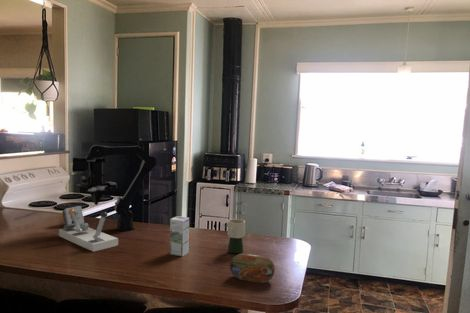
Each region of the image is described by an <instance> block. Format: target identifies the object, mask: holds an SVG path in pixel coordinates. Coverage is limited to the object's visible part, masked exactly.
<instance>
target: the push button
mask: <svg viewBox="0 0 470 313" xmlns="http://www.w3.org/2000/svg"><path fill="white" fill-rule="evenodd" d="M80 227H81V229H82V230H84V229H88V227H89V223H87V222H84V223H82V224H80Z"/></svg>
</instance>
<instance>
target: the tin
mask: <svg viewBox="0 0 470 313" xmlns="http://www.w3.org/2000/svg"><path fill="white" fill-rule="evenodd" d="M229 269H230V272H231V274H232V275H233V276H234V277H235V279H238V280H241V281H246V282H253V283H260V284H266V283H268V282H270V281H271V280H272V278H273V276H274V275H275V272H276V271H275V270H276V269H275V264H274V262H273V261H272V260H271V259H270V258H269V257H267V256H266V255H265V256H264V255H258V254H257V255H256V254H249V253H245V252H244V253H243V252H242V253H237V254H236V255H234V256H233V257H232V258H231V260H230V262H229Z"/></svg>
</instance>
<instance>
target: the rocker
mask: <svg viewBox="0 0 470 313" xmlns="http://www.w3.org/2000/svg"><path fill="white" fill-rule="evenodd" d="M74 227H75V225H74V224H68V225H65V224H64V225H63V229H64V228H67V229H69V228H74Z"/></svg>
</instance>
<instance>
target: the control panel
mask: <svg viewBox="0 0 470 313" xmlns="http://www.w3.org/2000/svg"><path fill="white" fill-rule="evenodd" d="M76 230H77V229H76V226H75V227H74V228H69V229H67V228H64V227H63V228H60V229H58V236H59V237H61V238H62V239H65V240H67V241H69V242H71V243H73V244H76V245H77V246H80V247H82V248H84V249H87V250H88V251H91V252H97V251H101V250H105V249H110V248H114V247H117V246H119V238H118V237H116V236H113V235H110V234H107V233H105V232H102V231H101V233H100V236H99V237H100V240H96V239H93V236H94V235H95V233H96V230H97V229H94V228H91V227H89V226H88V229H84V230H83V233H79V232H77V231H76Z"/></svg>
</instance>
